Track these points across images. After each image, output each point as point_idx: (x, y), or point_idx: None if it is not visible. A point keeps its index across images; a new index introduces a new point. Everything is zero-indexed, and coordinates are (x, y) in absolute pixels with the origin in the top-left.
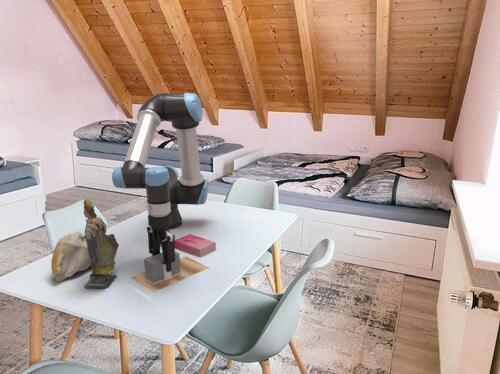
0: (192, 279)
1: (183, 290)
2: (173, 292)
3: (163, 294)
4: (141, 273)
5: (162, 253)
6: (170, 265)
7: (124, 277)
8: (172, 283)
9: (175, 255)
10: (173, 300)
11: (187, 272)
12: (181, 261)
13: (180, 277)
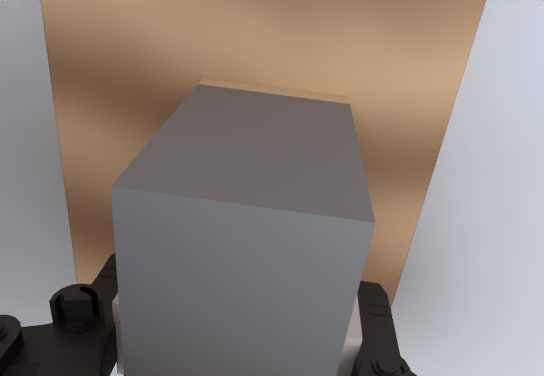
0: (490, 54)
1: (528, 234)
2: (471, 287)
3: (424, 331)
4: (76, 269)
5: (154, 347)
6: (394, 346)
7: (28, 319)
8: (407, 249)
9: (358, 286)
10: (538, 346)
11: (387, 20)
12: None
13: (396, 142)
